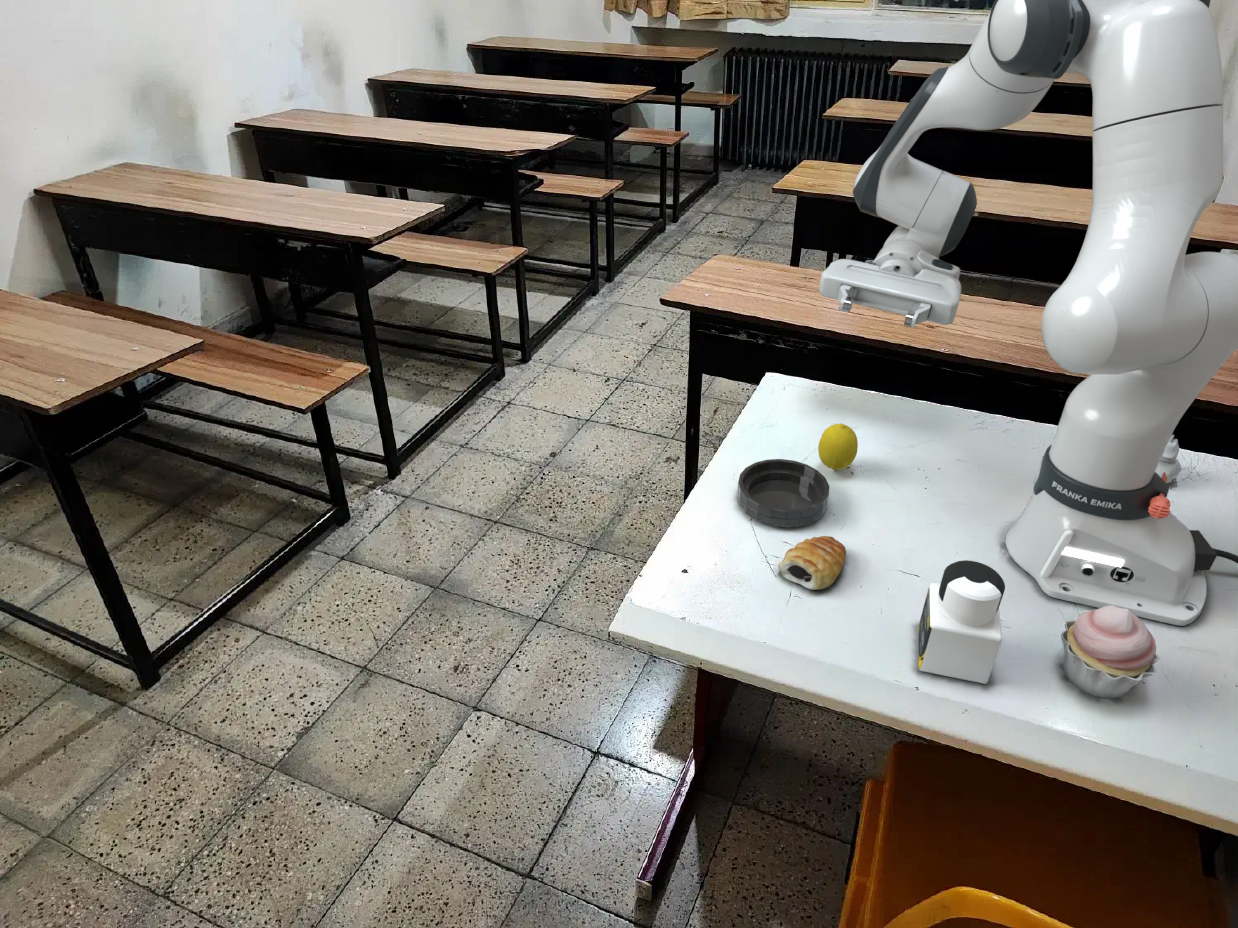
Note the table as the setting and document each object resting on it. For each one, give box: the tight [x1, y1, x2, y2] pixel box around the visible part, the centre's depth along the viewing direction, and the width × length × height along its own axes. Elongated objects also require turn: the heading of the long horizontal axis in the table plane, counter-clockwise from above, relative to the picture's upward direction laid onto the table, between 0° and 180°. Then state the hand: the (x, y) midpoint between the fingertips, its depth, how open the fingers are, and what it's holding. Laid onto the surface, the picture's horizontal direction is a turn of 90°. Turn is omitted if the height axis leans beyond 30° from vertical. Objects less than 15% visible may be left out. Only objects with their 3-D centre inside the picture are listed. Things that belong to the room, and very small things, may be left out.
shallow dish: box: [736, 458, 830, 528], centre depth 115 cm, size 12×12×3 cm
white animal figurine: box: [1155, 434, 1182, 484], centre depth 117 cm, size 5×7×8 cm
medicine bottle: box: [918, 560, 1006, 685], centre depth 88 cm, size 7×7×12 cm
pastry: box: [777, 535, 847, 591], centre depth 103 cm, size 9×7×4 cm
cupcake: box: [1060, 605, 1161, 700], centre depth 86 cm, size 9×9×10 cm
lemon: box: [817, 422, 859, 472], centre depth 120 cm, size 6×6×8 cm
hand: (876, 315), depth 118 cm, fingers open, 8 cm apart
